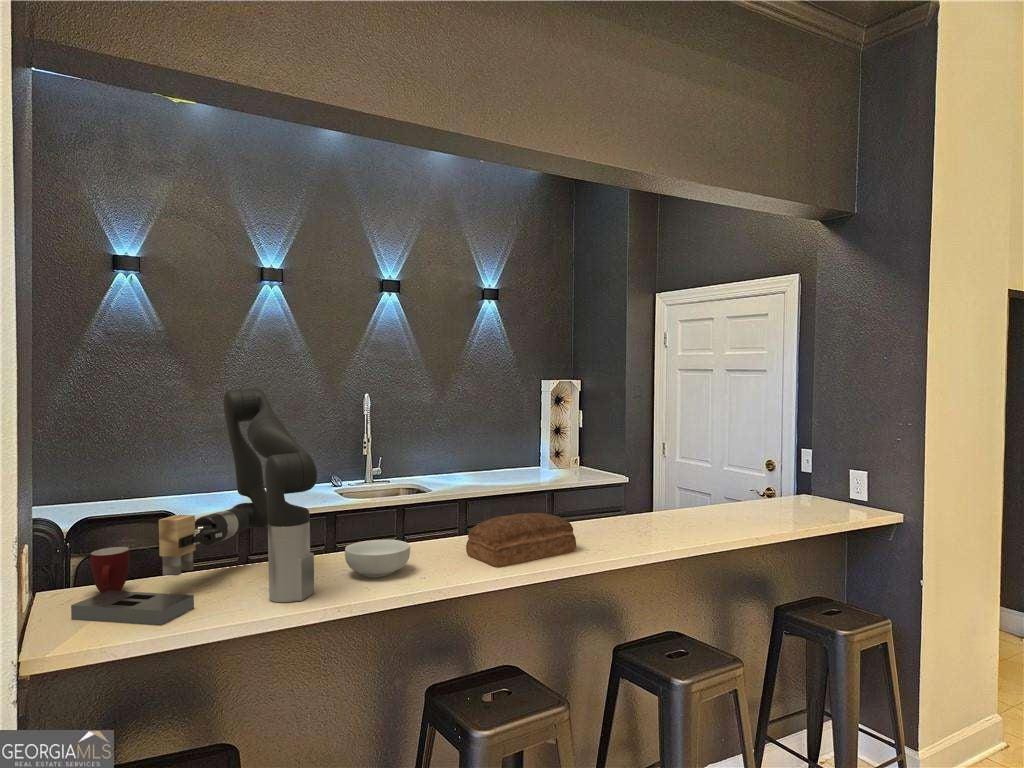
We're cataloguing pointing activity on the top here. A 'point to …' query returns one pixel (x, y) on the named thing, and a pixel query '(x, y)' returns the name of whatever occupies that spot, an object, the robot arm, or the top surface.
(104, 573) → the mug
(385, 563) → the cereal bowl
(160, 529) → the tan wooden tall block
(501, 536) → the bread
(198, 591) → the top surface
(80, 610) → the dark grey slab
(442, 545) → the top surface
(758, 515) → the top surface
